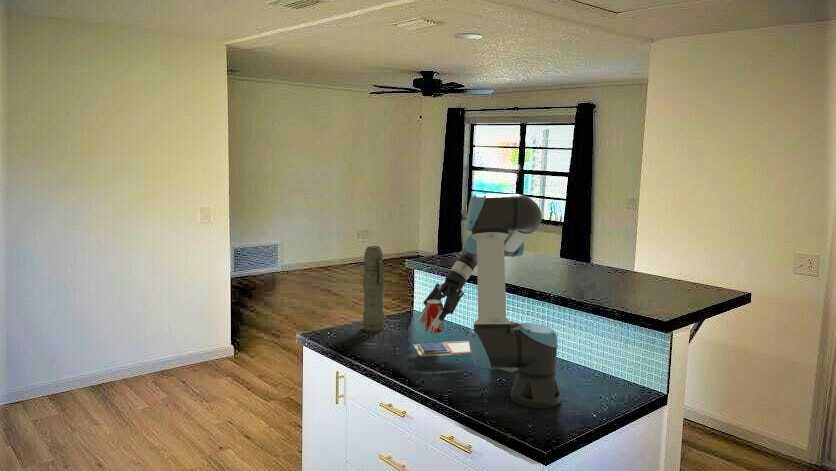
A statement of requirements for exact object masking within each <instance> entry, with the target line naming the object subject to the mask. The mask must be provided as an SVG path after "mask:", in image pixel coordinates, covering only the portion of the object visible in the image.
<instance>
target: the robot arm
mask: <svg viewBox="0 0 836 471" xmlns="http://www.w3.org/2000/svg"><path fill="white" fill-rule="evenodd" d="M542 217H543V214H542V210H541V208H540V206H539V205H538V203H537V202H535V200H534V199H532V198H530V196H529V197H528V196H526V195H524V194H519V193H511V194H510V193H482V194H479V193H477V194H474V195H472V196H471V197H470V200H469V203H468V207H467V214H466V230H467V231H468V232H471V233H470V234H468V236H467V237H466V239H465V241H464V245H463V249H462V252H461V254H460V255H459V257H458V258H457V260H456V261H455V263H454V264H453V265H452V267H451V269H450V270H449V272H448V274H447V275H446V276H445V281H444V282H443V283H442V284H439V283H437V282H436V284H435V286H434V288H433V289H432V291H431V292H430V294H429V295H428V296H427V297H426V298H425V299H424V301H423V302H422V303H423V305H424V306H425V305H426V303H427V300H432V299H436V300H441V301H442V299H445V302H444V305H443V308H442V310H443V311H442V310H440V312H439V313H438V315H437V317H436V318H435V320H434V321H433V323H432V326H433V327H434V328H435V329H437V327H438V326H439V324H440V323H441V321H443V322H444V320H445V318H446V317H447V315H449V314H450V315H453V314H454V312H455V310H456V308H457V306H458V304H459V303H460V300H461V299H462V297H464V295H465V292H464V291H463V290H462V289H463V288H464V286H465V284H467V281H468V280H469V278H470V277H471V275H472V273H473V272H474V270H475V269H476V270H477V272H476V273H477V274H476V276H477V277H476V278H477V310H478V311H477V312H478V316H477V319H476V320H475V321H474V322H473V328H471V329H469V330H468V341H469V345H470V351H471V354H470V355H471V359H472V362H473V364H474V365H475V366H476V367H478V368H479V369H483V368H484V369H498V368H518V370H517V373H516V376H515V378H514V382H513V383H512V387H511V391H510V399H511V400H512V401H513V402H514V403H515V404H517V405H520V406H523V407H527V408H530V409H551V408H553V407H556V406H558V405H560V403H561V394H562V393H561V390H560V386H559V384H558V380H557V376H556V375H557V374H556V371H557V354H558V352H557V351H558V346H559V345H558V335H557V332H556V331H555V329H553V328H551V327H549V326H546V325H543V324H540V323H535V322H523V323H519V324H520V325H519V327H518V329H512V328H511V322H512V321H510V320H509V319H508V318H507V302H506V301H507V300H506V269H505V267H506V264H505V263H506V262H505V257H510V258H511V257H512V258H514V257H522V255H523V254H524V252H525V241H526V239H527V238H528V237H529V235H530V234H533V233H535V232H536V231H537V229H538V228H539V227H540V226H541V223H542ZM417 321H418V322H419V324H421V325H424V324H425V307H424V308H423V310H422V311H421V314H420V316H419V317H418V318H417Z"/></svg>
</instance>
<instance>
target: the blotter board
mask: <svg viewBox="0 0 836 471" xmlns="http://www.w3.org/2000/svg"><path fill="white" fill-rule="evenodd" d="M418 344H419V343H416V344H415V343H413V344H412V345H413V347H414V349H415V350H416V352H417V354H418V355H419V356H420V357H421V358H423V357H425V358H426V357H439V356H453V355H458V354H451V352H450V353H440V354H424V355H423V353H422V352H421V350H420V348H419V347H418ZM466 354H467V355H469V354H470V355H471V353H463V354H462V355H466Z"/></svg>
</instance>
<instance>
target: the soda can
mask: <svg viewBox="0 0 836 471" xmlns="http://www.w3.org/2000/svg"><path fill="white" fill-rule="evenodd" d="M424 308H425V322H424V330H425V332H426V333H427V334H429V335H439V334H441V333H443V331H444V320H443V321H441V323H440V324H439V326H438V327H437V329H435V328H434V327H433V326H432V323H433V321H434V320H435V318H436V317H437V315H438V313H439V312H440V310H442V308H444V305H443V301H442V299H441V300H436V299H432V300H427V303H426V305H424ZM442 311H443V310H442Z"/></svg>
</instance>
